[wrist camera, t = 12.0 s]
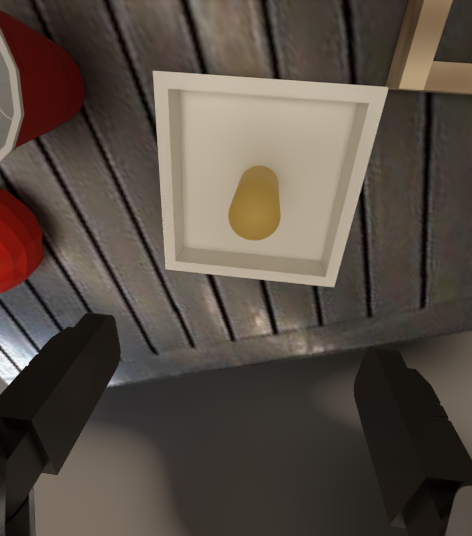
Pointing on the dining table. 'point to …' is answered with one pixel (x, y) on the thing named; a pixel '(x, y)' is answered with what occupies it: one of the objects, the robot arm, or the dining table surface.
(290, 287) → the dining table surface
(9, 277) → the tomato
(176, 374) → the dining table surface
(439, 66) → the socket block
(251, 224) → the dowel
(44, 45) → the plastic cup
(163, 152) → the tray
